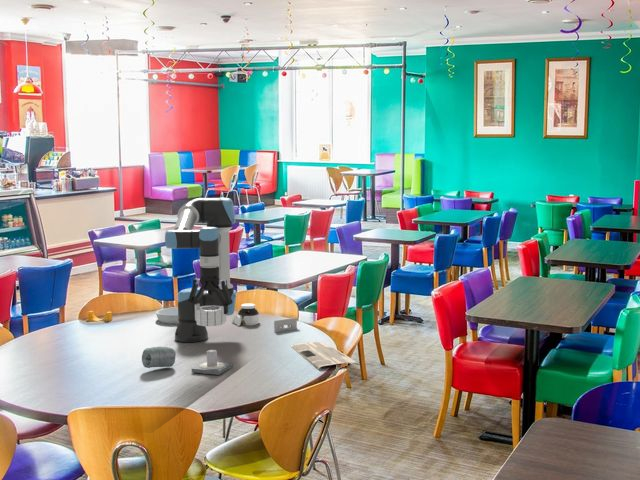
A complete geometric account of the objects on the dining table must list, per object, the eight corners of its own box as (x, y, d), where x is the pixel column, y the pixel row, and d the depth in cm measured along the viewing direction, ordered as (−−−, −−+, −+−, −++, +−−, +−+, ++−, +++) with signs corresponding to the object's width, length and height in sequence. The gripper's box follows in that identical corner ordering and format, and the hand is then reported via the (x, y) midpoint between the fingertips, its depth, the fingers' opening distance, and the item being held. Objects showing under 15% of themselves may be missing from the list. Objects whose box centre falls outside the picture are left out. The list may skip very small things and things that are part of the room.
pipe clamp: (86, 325, 386) (86, 312, 385) (90, 323, 390) (90, 310, 389) (108, 326, 383) (107, 313, 383) (112, 324, 388) (112, 311, 387)
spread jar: (261, 327, 379) (261, 304, 378) (247, 332, 369) (246, 308, 368) (242, 324, 385) (241, 302, 384) (227, 329, 376) (227, 305, 375)
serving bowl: (178, 317, 402) (177, 305, 401) (206, 322, 390) (206, 309, 389) (147, 325, 385) (147, 311, 384) (176, 330, 373) (176, 316, 372)
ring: (191, 325, 300) (191, 310, 299) (204, 319, 310) (204, 304, 309) (216, 327, 296) (216, 312, 296) (229, 321, 307) (229, 306, 306)
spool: (142, 368, 298) (151, 344, 299) (135, 362, 306) (143, 339, 307) (174, 376, 305) (182, 352, 306) (165, 370, 313) (173, 347, 314)
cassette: (295, 332, 368) (295, 317, 367) (297, 333, 366) (297, 317, 365) (273, 336, 361) (273, 320, 361) (275, 336, 360) (275, 320, 359)
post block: (191, 372, 302) (191, 353, 301) (205, 364, 313) (205, 346, 312) (219, 375, 298) (218, 356, 297) (232, 366, 309) (231, 348, 308)
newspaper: (289, 350, 337) (289, 344, 337) (330, 346, 344) (330, 340, 344) (318, 372, 303) (318, 365, 303) (363, 367, 310) (363, 360, 309)
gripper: (178, 266, 301) (179, 320, 303) (232, 269, 293) (233, 325, 296) (187, 263, 308) (188, 317, 310) (240, 266, 300) (241, 321, 303)
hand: (210, 321), depth 303 cm, fingers closed on ring, 11 cm apart
